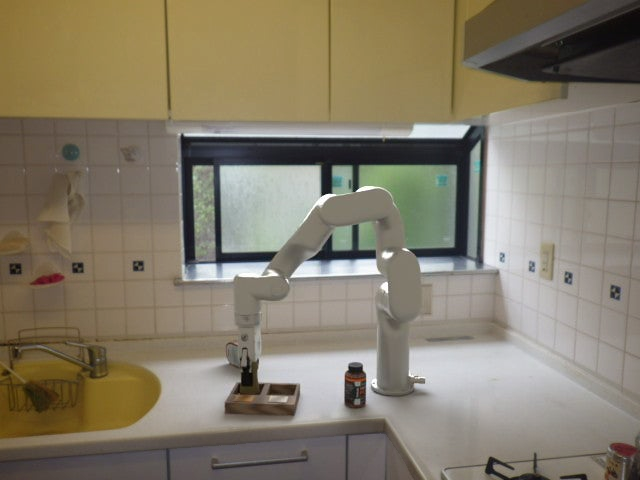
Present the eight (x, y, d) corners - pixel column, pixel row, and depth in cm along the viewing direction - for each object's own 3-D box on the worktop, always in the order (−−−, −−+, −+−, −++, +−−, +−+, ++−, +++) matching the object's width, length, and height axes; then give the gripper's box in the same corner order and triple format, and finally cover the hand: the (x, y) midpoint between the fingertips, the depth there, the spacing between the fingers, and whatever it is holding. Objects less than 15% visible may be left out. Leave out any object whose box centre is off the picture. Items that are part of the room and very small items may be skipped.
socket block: (300, 393, 149) (300, 382, 149) (294, 415, 135) (294, 403, 135) (236, 391, 150) (236, 381, 150) (224, 413, 136) (224, 401, 136)
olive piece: (256, 403, 142) (255, 364, 140) (235, 401, 143) (234, 363, 142) (263, 394, 147) (262, 357, 146) (243, 392, 149) (242, 355, 148)
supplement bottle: (363, 410, 138) (363, 369, 137) (341, 407, 140) (342, 367, 139) (368, 401, 144) (368, 361, 143) (347, 398, 146) (347, 359, 144)
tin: (259, 372, 165) (259, 347, 164) (252, 375, 163) (251, 349, 162) (232, 361, 176) (231, 337, 175) (224, 363, 173) (223, 339, 172)
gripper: (255, 327, 134) (257, 394, 136) (266, 310, 151) (268, 370, 153) (226, 327, 134) (228, 394, 136) (241, 310, 151) (242, 370, 153)
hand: (249, 381), depth 145 cm, fingers open, 5 cm apart
